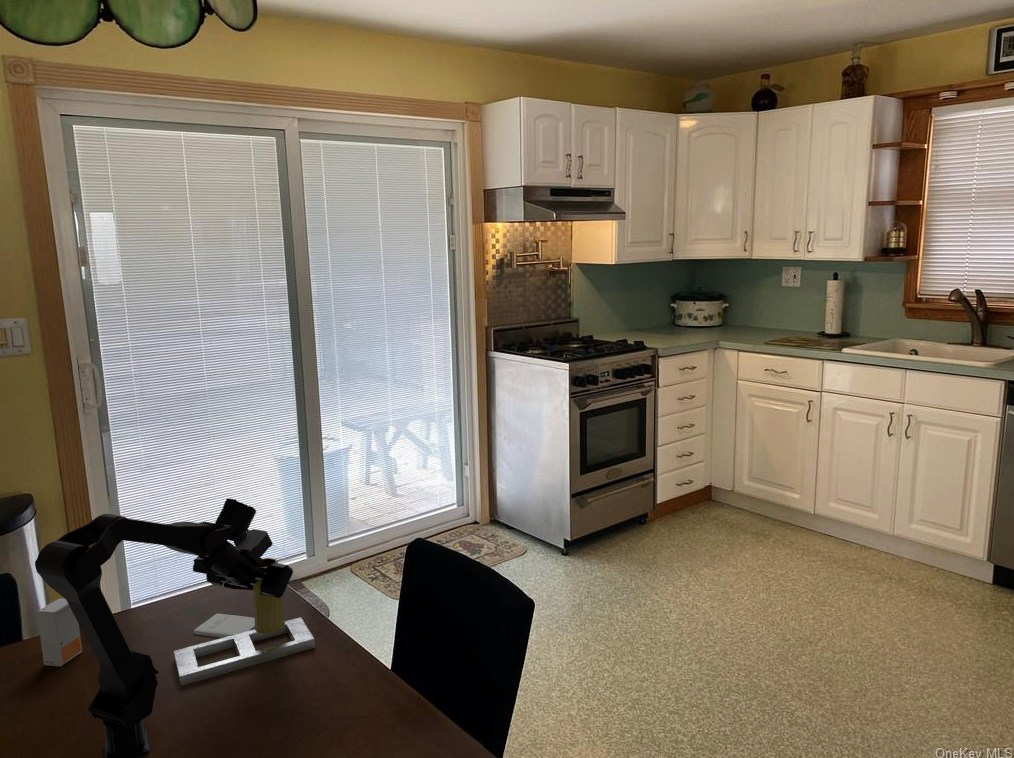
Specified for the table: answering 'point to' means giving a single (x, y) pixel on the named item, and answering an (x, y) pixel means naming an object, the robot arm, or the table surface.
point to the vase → (267, 607)
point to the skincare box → (58, 633)
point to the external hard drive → (225, 625)
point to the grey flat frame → (240, 651)
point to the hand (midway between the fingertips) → (271, 590)
